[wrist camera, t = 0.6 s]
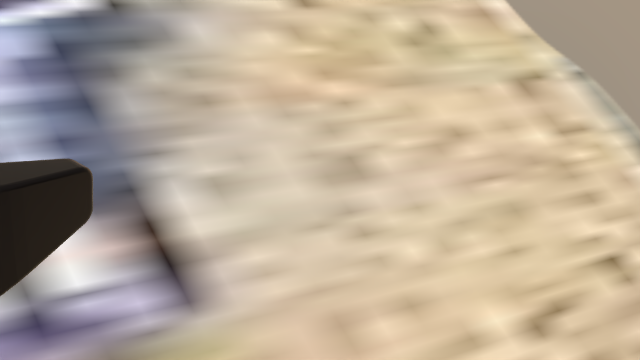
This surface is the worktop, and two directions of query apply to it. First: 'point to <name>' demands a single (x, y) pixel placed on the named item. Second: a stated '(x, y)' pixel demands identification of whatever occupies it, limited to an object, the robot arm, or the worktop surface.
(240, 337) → the worktop surface
